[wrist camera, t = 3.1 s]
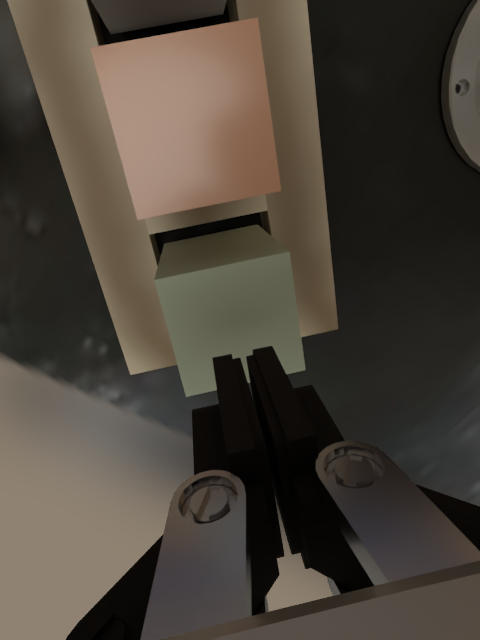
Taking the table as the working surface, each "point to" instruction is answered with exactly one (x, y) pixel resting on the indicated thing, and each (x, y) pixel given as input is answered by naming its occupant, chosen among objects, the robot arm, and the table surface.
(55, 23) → the birch board
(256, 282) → the sage key
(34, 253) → the table surface
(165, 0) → the slate key
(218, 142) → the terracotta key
